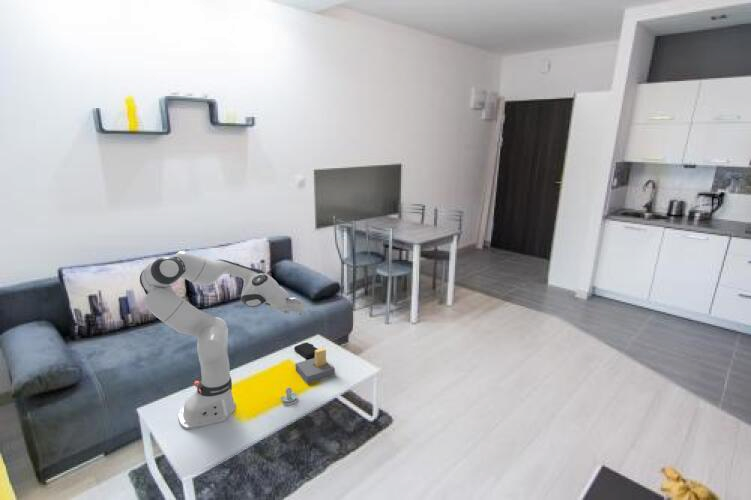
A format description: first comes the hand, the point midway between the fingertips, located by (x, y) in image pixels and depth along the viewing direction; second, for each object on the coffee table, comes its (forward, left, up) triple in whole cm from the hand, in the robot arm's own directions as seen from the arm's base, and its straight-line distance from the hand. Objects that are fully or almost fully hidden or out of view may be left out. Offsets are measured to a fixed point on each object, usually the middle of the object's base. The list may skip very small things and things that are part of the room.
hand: (295, 313), depth 195 cm
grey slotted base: (+8, -6, -32) cm, 34 cm away
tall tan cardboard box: (+11, -6, -32) cm, 34 cm away
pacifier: (-12, -21, -33) cm, 40 cm away
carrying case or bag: (+14, +15, -33) cm, 39 cm away
